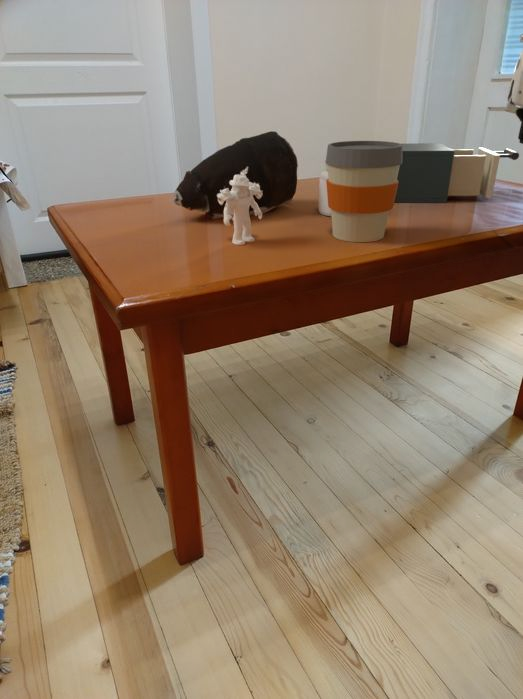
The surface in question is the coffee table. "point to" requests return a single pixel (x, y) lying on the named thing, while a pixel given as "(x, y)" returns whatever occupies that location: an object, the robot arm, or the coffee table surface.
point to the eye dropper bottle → (323, 193)
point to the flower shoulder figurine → (240, 206)
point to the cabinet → (424, 173)
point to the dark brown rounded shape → (218, 169)
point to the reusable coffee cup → (362, 187)
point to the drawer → (476, 171)
